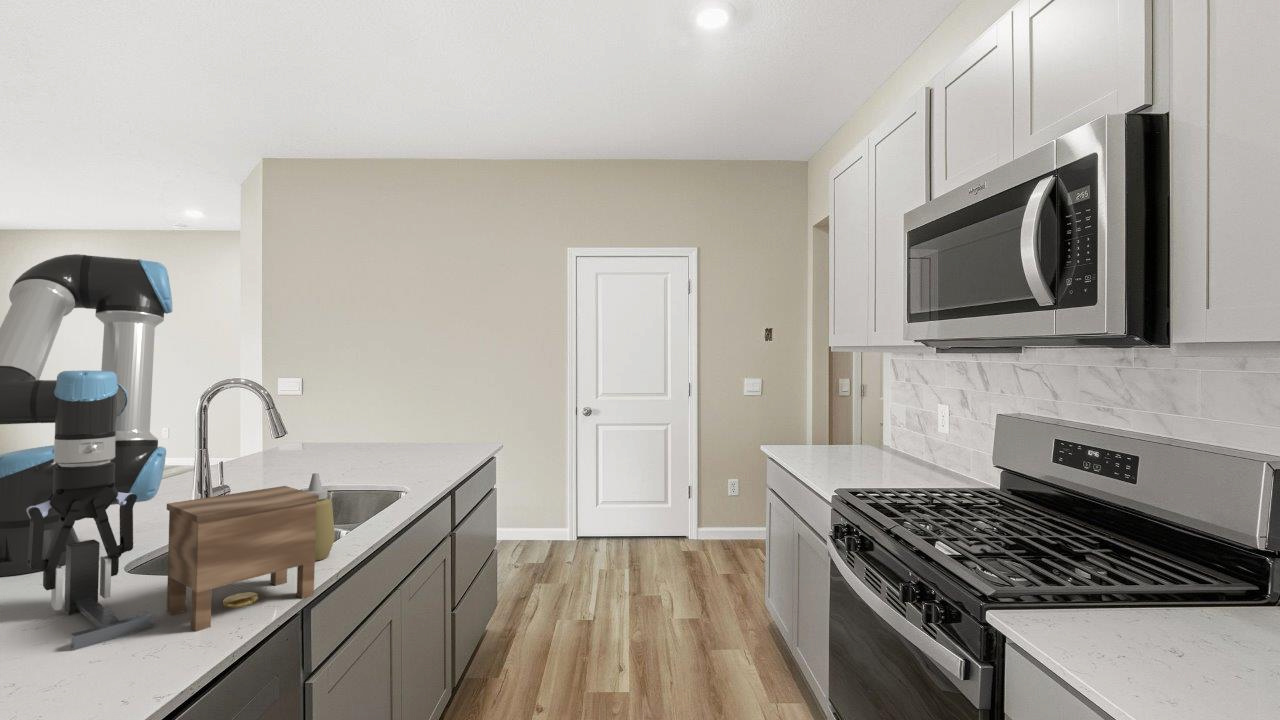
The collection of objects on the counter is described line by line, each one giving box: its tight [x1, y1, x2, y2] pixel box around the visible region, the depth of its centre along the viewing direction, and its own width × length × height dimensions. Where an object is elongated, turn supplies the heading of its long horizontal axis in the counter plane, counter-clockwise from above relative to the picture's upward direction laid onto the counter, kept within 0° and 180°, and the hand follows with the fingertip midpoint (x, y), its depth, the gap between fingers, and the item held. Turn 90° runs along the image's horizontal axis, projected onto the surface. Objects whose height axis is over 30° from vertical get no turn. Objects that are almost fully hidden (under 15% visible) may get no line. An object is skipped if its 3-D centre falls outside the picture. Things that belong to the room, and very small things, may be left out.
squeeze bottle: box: [304, 472, 336, 562], centre depth 126 cm, size 8×8×18 cm
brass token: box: [222, 591, 259, 609], centre depth 103 cm, size 5×5×1 cm
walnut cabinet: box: [166, 485, 319, 632], centre depth 102 cm, size 13×19×18 cm
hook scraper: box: [63, 538, 153, 651], centre depth 94 cm, size 19×9×11 cm, turn 56°
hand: (81, 601), depth 98 cm, fingers open, 5 cm apart
